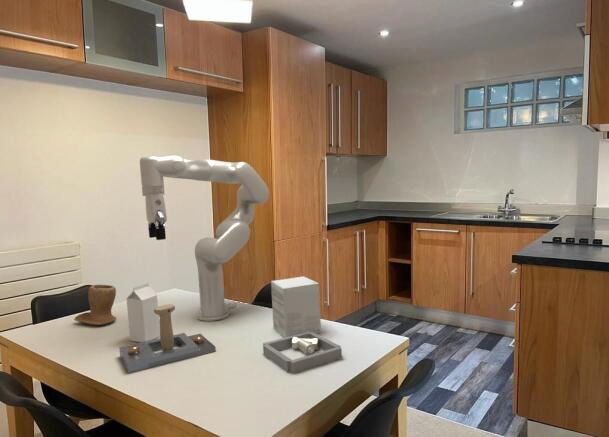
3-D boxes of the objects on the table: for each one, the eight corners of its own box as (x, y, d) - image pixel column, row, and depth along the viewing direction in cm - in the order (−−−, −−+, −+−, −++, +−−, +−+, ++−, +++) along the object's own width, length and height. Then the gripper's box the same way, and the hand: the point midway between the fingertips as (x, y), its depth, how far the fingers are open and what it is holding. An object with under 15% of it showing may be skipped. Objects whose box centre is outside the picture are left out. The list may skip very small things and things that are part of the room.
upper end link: (184, 341, 149) (183, 328, 148) (198, 355, 136) (197, 341, 135) (120, 356, 138) (118, 342, 138) (128, 373, 125) (127, 357, 125)
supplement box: (306, 322, 163) (304, 275, 162) (321, 332, 151) (319, 282, 150) (272, 328, 158) (270, 280, 156) (285, 339, 146) (283, 288, 144)
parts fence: (311, 339, 145) (310, 330, 145) (344, 357, 129) (343, 347, 129) (261, 353, 135) (260, 343, 135) (290, 374, 120) (289, 363, 120)
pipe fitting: (315, 357, 132) (319, 347, 138) (314, 345, 131) (318, 336, 137) (289, 356, 134) (295, 346, 140) (288, 344, 133) (294, 334, 139)
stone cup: (124, 320, 176) (121, 283, 175) (98, 329, 166) (94, 290, 164) (100, 315, 183) (97, 280, 182) (73, 324, 173) (70, 287, 172)
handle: (181, 351, 139) (177, 305, 138) (163, 358, 135) (159, 310, 133) (172, 348, 143) (168, 303, 141) (154, 355, 138) (150, 308, 136)
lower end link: (200, 337, 151) (200, 329, 151) (215, 351, 139) (215, 341, 138) (138, 352, 141) (137, 342, 141) (148, 368, 128) (147, 357, 128)
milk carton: (160, 336, 155) (156, 283, 153) (145, 343, 148) (140, 288, 147) (145, 334, 158) (141, 282, 156) (129, 341, 151) (125, 287, 150)
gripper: (170, 190, 152) (174, 239, 154) (157, 190, 167) (161, 235, 168) (148, 192, 148) (153, 242, 150) (136, 191, 163) (141, 237, 164)
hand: (157, 238), depth 159 cm, fingers open, 9 cm apart
